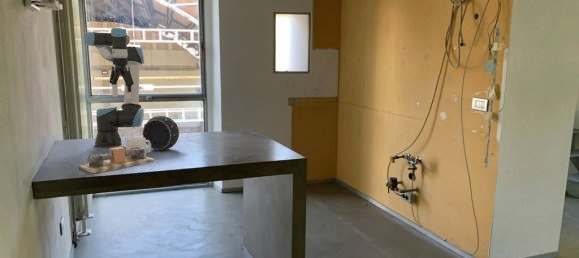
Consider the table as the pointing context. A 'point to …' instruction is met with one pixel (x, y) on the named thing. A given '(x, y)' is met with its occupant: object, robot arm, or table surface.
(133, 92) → the robot arm
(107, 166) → the shaft bench
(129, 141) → the mug
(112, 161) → the coupler
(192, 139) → the table surface
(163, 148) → the black drum
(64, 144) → the table surface
